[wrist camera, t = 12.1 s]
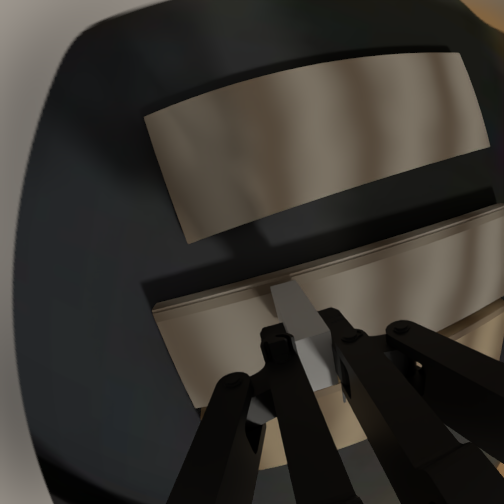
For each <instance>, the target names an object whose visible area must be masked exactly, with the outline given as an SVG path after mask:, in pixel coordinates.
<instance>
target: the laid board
mask: <svg viewBox="0 0 504 504" xmlns="http://www.w3.org/2000/svg"><path fill="white" fill-rule="evenodd" d="M437 333H439V334H441V335H443V336H446V337H448V338H450V339H452V340H454V341H457V342H459V343H461V344H463V345H465V346H467V347H470V348H472V349H474V350H476V351H478V352H481V353H483V354H485V355H487V356H489V357H492V358H494V359H496V360H498V361H499V358H500V353H501V348H502V342H503V336H504V300H502V299H500V298H499V299H497V300H496V301H494V302H492V303H491V304H489V305H487V306H485V307H484V308H482V309H480V310H478V311H476V312H475V313H473V314H471V315H469V316H467V317H465V318H464V319H462V320H460V321H458V322H456V323H454V324H452V325H450V326H448V327H446V328H444V329H442V330H440V331H438V332H437ZM417 365H418V366H419V367H422V365H421V364H420V363H418V362H417ZM337 377H338V375H337ZM314 394H315V397H316V399H317V401H318V404H319V406H320V409H321V411H322V414H323V416H324V418H325V421H326V423H327V426H328V428H329V431H330V433H331V435H332V438H333V440H334V443H335V445H336V448H337V449H340V448H343V447H346V446H349V445H352V444H355V443H357V442H360V441H363V440H365V439H367V437H366V435H365V433H364V431H363V429H362V427H361V425H360V423H359V421H358V420H357V418H356V416H355V414H354V412H353V410H352V408H351V406H350V404H349V403H348V401H347V399H346V402H345V403H344V402H343V395H342V388H341V381H340V379H339V377H338V384H336V385H333V386H330V387H326V388H323V389H320V390H317V391H314ZM206 408H207V407H202V408H201V417H200V418H201V420H202V418H203V415H204V413H205V411H206ZM285 464H287V460H286V456H285V451H284V447H283V442H282V438H281V433H280V429H279V424H278V420H277V417H276V418H274V419H272V420H270V421H268V422H266V433H265V438H264V444H263V449H262V454H261V460H260V465H259V470H263V469H267V468H272V467H277V466H281V465H285Z"/></svg>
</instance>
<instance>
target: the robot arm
mask: <svg viewBox="0 0 504 504" xmlns="http://www.w3.org/2000/svg"><path fill="white" fill-rule="evenodd" d="M270 289H271V292H272V296H273V300H274V304H275V308H276V312H277V316H278V320H279V323H278V324H274V325H271V326H267V327H263V328H262V330H261V332H260V337H261V344H260V348H261V351H262V354H263V358H264V361H265V365H264V367H263V368H262V369H261V370H260V371H259V372H257V373H255V374H254V375H252V376H249V375H248V374H247V373H244V372H233V373H229V374H227V375H225V376H223V377H222V378H221V379H219V381H218V382H217V384H216V386H215V389H214V391H213V394H212V396H211V398H210V401H209V403H208V406H207V408H206V411H205V413H204V415H203V418H202V420H201V423H200V425H199V427H198V430H197V432H196V435H195V437H194V439H193V442H192V444H191V446H190V449H189V451H188V454H187V456H186V458H185V461H184V463H183V465H182V468H181V470H180V472H179V475H178V477H177V479H176V482H175V484H174V486H173V489H172V491H171V493H170V496H169V498H168V500H167V503H166V504H252V500H253V495H254V490H255V485H256V480H257V475H258V470H259V465H260V460H261V454H262V449H263V444H264V438H265V433H266V422H268V421H270V420H272V419H274V418H276V417H277V420H278V424H279V429H280V433H281V438H282V442H283V447H284V451H285V456H286V460H287V464H288V469H289V473H290V478H291V482H292V486H293V491H294V495H295V499H296V504H363V502H362V500H361V499H360V497H358V496H357V495H356V494H355V492H354V489H353V487H352V484H351V482H350V479H349V477H348V475H347V472H346V470H345V467H344V465H343V462H342V460H341V457H340V455H339V453H338V450H337V448H336V445H335V443H334V440H333V438H332V435H331V433H330V431H329V428H328V426H327V423H326V421H325V418H324V416H323V414H322V411H321V409H320V406H319V404H318V401H317V399H316V397H315V394H314V391H317V390H320V389H323V388H326V387H330V386H333V385H336V384H338V377H339V379H340V381H341V388H342V395H343V402H344V403H345V402H346V399H347V401H348V403H349V404H350V406H351V408H352V410H353V412H354V414H355V416H356V418H357V420H358V421H359V423H360V425H361V427H362V429H363V431H364V433H365V435H366V437H367V439H368V441H369V442H370V444H371V446H372V448H373V450H374V452H375V454H376V456H377V458H378V460H379V462H380V464H381V466H382V467H383V469H384V471H385V473H386V475H387V477H388V479H389V481H390V483H391V485H392V487H393V489H394V491H395V493H396V495H397V497H398V499H399V501H400V503H401V504H504V478H503V476H502V475H501V474H500V473H499V471H498V470H497V469H496V468H495V467H494V465H493V464H492V463H491V462H490V460H489V459H488V458H487V457H486V456H485V454H484V453H483V452H482V451H481V450H480V449H479V448H481V449H482V450H484V451H485V452H486V453H488V454H489V455H491V456H492V457H494V458H495V459H497V460H498V461H500V462H501V463H503V464H504V363H502V362H500V361H498V360H496V359H494V358H492V357H489V356H487V355H485V354H483V353H481V352H478V351H476V350H474V349H472V348H470V347H467V346H465V345H463V344H461V343H459V342H457V341H454V340H452V339H450V338H448V337H446V336H443V335H441V334H439V333H437V332H435V331H432V330H430V329H428V328H426V327H424V326H421V325H419V324H417V323H415V322H413V321H409V320H399V321H395V322H392V323H390V324H389V325H388V326H387V327H386V329H385V331H386V334H382V335H376V336H368V334H367V333H366V332H365V331H363V330H361V329H354V327H353V326H352V325H351V324H350V323H349V322H348V320H347V319H345V317H344V316H343V315H342V313H341V312H340V311H339V310H338V309H335V308H333V307H330V308H326V309H323V310H320V311H316V309H315V308H314V306H313V305H312V303H311V302H310V300H309V299H308V297H307V296H306V295H305V293H304V292H303V290H302V289H301V287H300V286H299V284H298V283H297V282H296V280H292V281H289V282H285V283H282V284H278V285H274V286H271V287H270ZM417 362H418V363H420V364H421V365H422V367H419V366H418V365H417ZM337 375H338V377H337ZM444 424H446V425H447V426H448V427H450V428H451V429H453V430H454V431H456V432H457V433H459V434H460V435H462V436H463V437H464V438H466V439H467V440H469V441H470V442H468V443H465V444H461V443H460V442H458V441H457V439H456V438H455V437H454V436H453V434H452V433H451V432H450V431H449V430H448V428H447V427H446V426H445V425H444ZM471 442H472V443H471ZM477 446H478V447H477Z"/></svg>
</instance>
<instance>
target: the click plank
mask: <svg viewBox="0 0 504 504" xmlns="http://www.w3.org/2000/svg"><path fill="white" fill-rule="evenodd" d="M292 280H296V282H297V283H298V284H299V286H300V287H301V289H302V290H303V292H304V293H305V295H306V296H307V297H308V299H309V300H310V302H311V303H312V305H313V306H314V308H315V309H316V311H320V310H323V309H326V308H330V307H333V308H335V309H338V310H339V311H340V312H341V313H342V315H343V316H344V317H345V319H347V320H348V322H349V323H350V324H351V325H352V326H353V327H354V329H361V330H363V331H365V332H366V333H367V334H368V336H376V335H382V334H386V331H385V329H386V327H387V326H388V325H389V324H390V323H392V322H395V321H399V320H409V321H413V322H415V323H417V324H419V325H421V326H424V327H426V328H428V329H430V330H432V331H435V332H437V331H439V330H442V329H444V328H446V327H448V326H450V325H452V324H454V323H455V322H457V321H459V320H461V319H463V318H465V317H467V316H469V315H471V314H472V313H474V312H476V311H478V310H480V309H481V308H483V307H485V306H487V305H488V304H490V303H492V302H494V301H495V300H497V299H499V298H500V297H502V296H504V204H502V203H497V204H494V205H491V206H488V207H485V208H482V209H479V210H476V211H473V212H470V213H467V214H464V215H461V216H458V217H455V218H452V219H449V220H446V221H442V222H439V223H436V224H433V225H430V226H427V227H424V228H420V229H417V230H414V231H411V232H408V233H404V234H401V235H398V236H395V237H391V238H388V239H385V240H382V241H378V242H375V243H372V244H368V245H365V246H362V247H358V248H355V249H352V250H348V251H345V252H342V253H338V254H335V255H331V256H328V257H324V258H321V259H318V260H314V261H311V262H307V263H304V264H300V265H297V266H293V267H290V268H286V269H283V270H279V271H275V272H272V273H268V274H265V275H261V276H257V277H254V278H250V279H247V280H243V281H239V282H235V283H232V284H228V285H224V286H221V287H217V288H213V289H209V290H206V291H202V292H198V293H194V294H190V295H187V296H183V297H179V298H175V299H171V300H167V301H163V302H159V303H156V304H155V306H154V308H153V309H152V312H153V316H154V319H155V321H156V323H157V325H158V327H159V330H160V332H161V335H162V337H163V339H164V342H165V344H166V346H167V349H168V351H169V353H170V356H171V358H172V360H173V362H174V365H175V367H176V369H177V371H178V373H179V375H180V378H181V380H182V382H183V384H184V386H185V388H186V390H187V392H188V394H189V396H190V398H191V400H192V402H193V404H194V406H195V408H201V407H206V406H208V403H209V401H210V398H211V396H212V394H213V391H214V389H215V386H216V384H217V382H218V381H219V379H221V378H222V377H223V376H225V375H227V374H229V373H233V372H244V373H247V374H248V375H249V376H252V375H254V374H255V373H257V372H259V371H260V370H261V369H262V368H263V367H264V365H265V361H264V358H263V354H262V351H261V348H260V344H261V337H260V332H261V330H262V328H263V327H267V326H271V325H274V324H278V323H279V320H278V316H277V312H276V308H275V304H274V300H273V296H272V292H271V289H270V287H271V286H274V285H278V284H282V283H285V282H289V281H292Z"/></svg>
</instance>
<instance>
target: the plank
mask: <svg viewBox="0 0 504 504" xmlns="http://www.w3.org/2000/svg"><path fill="white" fill-rule="evenodd" d="M144 120H145V123H146V126H147V129H148V132H149V135H150V139H151V142H152V145H153V148H154V151H155V154H156V157H157V160H158V163H159V165H160V168H161V171H162V174H163V177H164V180H165V183H166V186H167V188H168V191H169V194H170V197H171V200H172V202H173V205H174V208H175V211H176V213H177V216H178V219H179V221H180V224H181V227H182V229H183V232H184V235H185V237H186V240H187V243H188V244H190V243H192V242H195V241H198V240H201V239H203V238H206V237H209V236H212V235H214V234H217V233H220V232H223V231H226V230H229V229H231V228H234V227H237V226H240V225H243V224H246V223H248V222H251V221H254V220H257V219H260V218H263V217H266V216H269V215H272V214H274V213H277V212H280V211H283V210H286V209H289V208H292V207H295V206H298V205H301V204H304V203H307V202H310V201H313V200H316V199H319V198H322V197H325V196H328V195H331V194H334V193H337V192H341V191H344V190H347V189H350V188H353V187H356V186H359V185H362V184H366V183H369V182H372V181H375V180H378V179H381V178H385V177H388V176H391V175H394V174H398V173H401V172H404V171H407V170H411V169H414V168H417V167H421V166H424V165H427V164H431V163H434V162H438V161H441V160H444V159H448V158H451V157H455V156H458V155H462V154H465V153H469V152H472V151H476V150H480V149H483V148H487V147H490V144H489V140H488V136H487V132H486V128H485V125H484V121H483V118H482V114H481V111H480V108H479V105H478V101H477V98H476V95H475V92H474V90H473V87H472V84H471V81H470V79H469V76H468V73H467V71H466V68H465V66H464V63H463V61H462V58H461V56H460V54H459V53H407V54H391V55H379V56H369V57H361V58H353V59H346V60H339V61H332V62H326V63H321V64H315V65H310V66H305V67H300V68H295V69H290V70H286V71H281V72H277V73H273V74H269V75H265V76H261V77H257V78H254V79H250V80H246V81H243V82H239V83H236V84H233V85H229V86H226V87H223V88H220V89H217V90H214V91H210V92H208V93H205V94H202V95H199V96H196V97H193V98H190V99H188V100H185V101H182V102H180V103H177V104H174V105H172V106H169V107H167V108H164V109H162V110H159V111H157V112H154V113H152V114H150V115H147V116H145V117H144Z"/></svg>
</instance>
